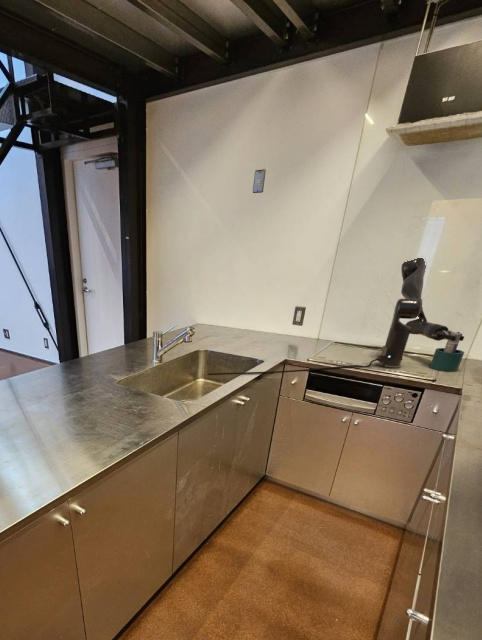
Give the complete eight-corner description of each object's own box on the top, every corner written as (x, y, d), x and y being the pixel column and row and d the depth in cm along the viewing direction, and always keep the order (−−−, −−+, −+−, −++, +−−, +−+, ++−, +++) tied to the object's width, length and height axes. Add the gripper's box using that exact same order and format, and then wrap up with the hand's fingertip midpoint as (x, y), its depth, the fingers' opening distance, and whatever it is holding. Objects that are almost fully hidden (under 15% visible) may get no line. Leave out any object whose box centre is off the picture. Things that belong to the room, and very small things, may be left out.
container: (447, 362, 195) (458, 332, 188) (452, 364, 191) (464, 334, 184) (437, 361, 196) (448, 332, 189) (442, 364, 192) (454, 334, 184)
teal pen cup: (436, 371, 191) (442, 353, 186) (425, 364, 201) (431, 347, 196) (462, 371, 189) (469, 353, 184) (450, 365, 199) (456, 348, 194)
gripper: (424, 324, 198) (447, 331, 183) (451, 324, 198) (476, 330, 183) (419, 339, 202) (441, 346, 186) (446, 338, 201) (470, 346, 186)
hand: (458, 338), depth 185 cm, fingers closed on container, 3 cm apart
